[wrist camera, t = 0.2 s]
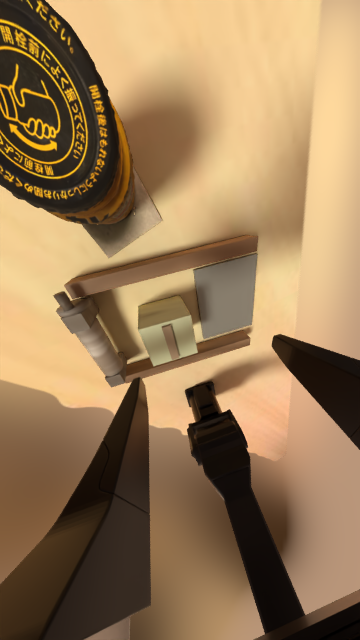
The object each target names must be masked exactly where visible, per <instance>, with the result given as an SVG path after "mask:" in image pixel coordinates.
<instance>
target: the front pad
mask: <svg viewBox="0 0 360 640" xmlns="http://www.w3.org/2000/svg"><path fill="white" fill-rule="evenodd" d="M256 264H257V254H252V255H248V256H244V257H241V258H237V259H233V260H229V261H225V262H221V263H218V264H214V265H210V266H206V267H202V268H199V269H195V270H193V271H194V278H195V285H196V292H197V299H198V306H199V313H200V320H201V327H202V334H203V338H204V339H206V338H209V337H213V336H216V335H219V334H223V333H226V332H229V331H233V330H236V329H239V328H243V327H246V326H249V325H252V316H253V303H254V290H255V277H256Z"/></svg>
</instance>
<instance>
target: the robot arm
mask: <svg viewBox="0 0 360 640" xmlns="http://www.w3.org/2000/svg"><path fill="white" fill-rule="evenodd" d="M272 347H273V349H274V351H275V352H276V353H277V355H278V356H279V357H280V359H281V360H282V362H283V363H284V364H285V366H286V367H287V368H288V369H289V371H290V372H291V373H292V374H293V375H294V376H295V377H296V378H297V380H298V381H299V382H300V383H301V384H302V385H303V386H304V387H305V389H307V391H308V392H309V393H310V394H311V395H312V397H313V398H314V399H315V400H316V401H317V402H318V403H319V404H320V405H321V406H322V408H323V409H324V410H325V411H326V412H327V413H328V415H329V416H330V417H331V418H332V419H333V420H334V421H335V422H336V424H338V426H339V427H340V428H341V429H342V430H343V431H344V433H345V434H346V435H347V436H348V437H349V438H350V439H351V441H352V442H353V443H354V444H355V445H356V446H357V447H358V449H359V450H360V360H357V359H354V358H350V357H348V356H345V355H342V354H339V353H336V352H333V351H330V350H327V349H324V348H321V347H318V346H315V345H311V344H309V343H305V342H303V341H300V340H297V339H293V338H290V337H287V336H284V335H281V334H278V335H275V336H274V337H273V341H272ZM185 394H186V397H187V400H188V404H189V407H191V408H192V411H193V415H194V419H195V423H192V424H191V423H190V424H189V428H188V429H187V432H188V436H189V442H190V449H191V454H192V456H193V457H194V458H195V459H196V461H197V462H198V465H199V466H201V465H203V469H204V472H205V475H206V477H207V479H208V481H209V483H210V484H211V485H212V486H213V487H214V489H215V490H216V491H217V493H218V494H219V495H220V496H221V498H222V499H223V500H224V501H225V505H226V508H227V511H228V514H229V518H230V521H231V524H232V527H233V531H234V534H235V537H236V541H237V544H238V547H239V550H240V553H241V557H242V560H243V563H244V567H245V570H246V573H247V577H248V580H249V583H250V586H251V590H252V593H253V596H254V599H255V603H256V606H257V609H258V612H259V615H260V619H261V622H262V625H263V629H264V632H265V635H263V636H260V637H258V638H256V639H254V640H360V590H358V591H355V592H353V593H351V594H349V595H347V596H345V597H343V598H341V599H339V600H336V601H334V602H332V603H330V604H328V605H326V606H324V607H322V608H320V609H317V610H315V611H313V612H311V613H309V614H307V615H305V614H304V611H303V609H302V606H301V604H300V602H299V599H298V597H297V595H296V592H295V590H294V588H293V585H292V583H291V580H290V578H289V576H288V573H287V571H286V569H285V566H284V564H283V562H282V559H281V557H280V554H279V552H278V550H277V547H276V545H275V543H274V540H273V538H272V535H271V533H270V531H269V528H268V526H267V524H266V521H265V519H264V517H263V514H262V512H261V510H260V507H259V505H258V502H257V500H256V498H255V495H254V493H253V490H252V488H251V470H250V456H249V453H248V451H247V449H246V448H248V445H247V441H246V439H245V436H244V434H243V432H242V430H241V428H240V426H239V424H238V423H237V421H236V419H235V417H234V416H233V414H232V412H231V411H230V409H229V410H227V411H225V412H223V413H222V411H221V408H220V406H219V404H218V402H217V399H216V397H215V390H214V383H213V382H209V383H206V384H203V385H200V386H197V387H194V388H190V389H187V390H185ZM103 440H104V441H102V443H101V445H100V446H99V448H98V450H97V452H96V454H95V456H94V458H93V460H92V462H91V464H90V465H89V467H88V469H87V471H86V472H85V474H84V476H83V478H82V479H81V481H80V482H79V484H78V486H77V488H76V489H75V491H74V493H73V494H72V496H71V498H70V499H69V501H68V503H67V504H66V506H65V508H64V509H63V511H62V513H61V514H60V516H59V517H58V519H57V521H56V522H55V523H54V525H53V526H52V528H51V529H50V530H49V532H48V533H47V534H46V535H45V537H44V538H43V539H42V540H41V541H40V542H39V543H38V545H36V547H35V548H34V549H33V550H32V551H31V552H30V553H29V554H28V555H27V556H26V557H25V558H24V560H23V561H22V562H21V563H20V564H19V565H18V566H17V567H16V568H15V569H14V570H13V571H12V572H11V573H10V575H9V576H8V577H7V578H6V579H5V580H4V581H3V582H2V583H1V584H0V640H129V636H130V616H131V615H133V614H135V613H137V612H139V611H141V610H143V609H145V608H147V607H149V606H150V605H151V587H150V586H151V582H150V580H151V579H150V515H149V513H150V502H149V419H148V405H147V397H146V389H145V385H144V383H143V381H142V379H141V377H137V378H134V379H133V381H132V383H131V385H130V387H129V389H128V391H127V393H126V395H125V397H124V399H123V401H122V403H121V405H120V407H119V409H118V411H117V413H116V415H115V417H114V419H113V421H112V423H111V425H110V427H109V428H108V431H107V433H106V434H105V436H104V438H103Z"/></svg>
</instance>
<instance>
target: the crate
mask: <svg viewBox="0 0 360 640" xmlns="http://www.w3.org/2000/svg"><path fill="white" fill-rule="evenodd" d="M138 331H139V333H140V336H141V338H142V340H143V343H144V345H145V347H146V350H147V352H148V354H149V357H150V359H151V361H152V364H153V366H156V365H160V364H163V363H166V362H169V361H173V360H176V359H179V358H182V357H186V356H189V355H192V354H195V353H198V351H197V346H196V340H195V335H194V329H193V324H192V318H191V314H190V313H189V311H188V309H187V307H186V305H185V304H184V302H183V300H182V298H181V297H180V295H178V296H174V297H170V298H167V299H163V300H159V301H156V302H152V303H148V304H145V305H141V306H138Z"/></svg>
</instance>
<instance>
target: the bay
mask: <svg viewBox="0 0 360 640" xmlns="http://www.w3.org/2000/svg"><path fill="white" fill-rule="evenodd" d="M257 243H258V236H250V235H245V236H241V237H237V238H233V239H229V240H225V241H221V242H217V243H213V244H209V245H205V246H201V247H197V248H193V249H189V250H185V251H181V252H177V253H173V254H169V255H165V256H161V257H157V258H153V259H149V260H145V261H141V262H137V263H133V264H129V265H125V266H121V267H117V268H113V269H109V270H105V271H101V272H97V273H93V274H89V275H85V276H81V277H77V278H73V279H71V280H70V281H69V282H68V283H66V284H65V285H64V286H65V288H66V290H67V291H68V293H69V294H70V296H71V297H72V299H75V298H79V297H83V296H87V295H90V294H94V293H98V292H102V291H106V290H110V289H113V288H117V287H121V286H125V285H129V284H133V283H136V282H140V281H144V280H148V279H152V278H156V277H159V276H163V275H167V274H171V273H175V272H179V271H182V270H186V269H190V268H194V267H198V266H202V265H205V264H209V263H213V262H217V261H221V260H225V259H228V258H232V257H236V256H240V255H244V254H247V253H251V252H255V251H257ZM54 298H55V299H56V300H57V302H58V303H59V305H60V307H59V308H58V309H57V310H56V312H57V313H58V314H59V316H60V317H62V318H61V320H62V321H63V322H64V324H65V325H66V326H67V328H68V329H69V330H70V332H71V333H72V334H73V333H75V334H76V336H77V337H78V338H79V340H80V341H81V343H82V344H83V345H84V347H85V348H86V349H87V351H88V352H89V354H90V355H91V356H92V358H93V359H94V361H95V362H96V363H97V365H98V366H99V367H100V369H101V370H102V372H103V373H104V374H105V376H106V377H105V379H106V381H107V382H108V383H109V385H110V386H111V387H114V386H117V385H120V384H124V383H129V382H132V381H133V379H134V378H137V377H141V379H142V378H146V377H149V376H152V375H155V374H158V373H162V372H165V371H168V370H171V369H174V368H178V367H181V366H184V365H187V364H191V363H194V362H197V361H200V360H203V359H207V358H210V357H213V356H216V355H219V354H223V353H226V352H229V351H232V350H235V349H239V348H242V347H245V346H248V345H250V337H249V336H248V335H247V334H246V333H245V332H244V331H243V330H242V331H238V332H235V333H232V334H228V335H225V336H222V337H218V338H215V339H212V340H208V341H205V342H202V343H199V344H196V346H197V351H198V353H195V354H192V355H189V356H186V357H182V358H179V359H176V360H173V361H169V362H166V363H163V364H160V365H156V366H153V364H152V361H151V359H150V358H149V359H146V360H142V361H139V362H136V363H132V364H129V365H127V359H126V357H125V356H124V354H123V352H121V353H117V352H116V350H115V348H114V346H113V345H112V343H111V341H110V340H109V338H108V336H107V334H106V333H105V331H104V329H103V328H102V326H101V324H100V322H99V321H98V319H97V318H96V316H97V314H98V312H99V309H98V307H97V305H96V303H95V301H94V300H93V298H92V297H88V298H79V299H75V300H72V301H70V299H69V298H68V296H67V294H66V293H65V292H60V293H57V294H55V295H54Z"/></svg>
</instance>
